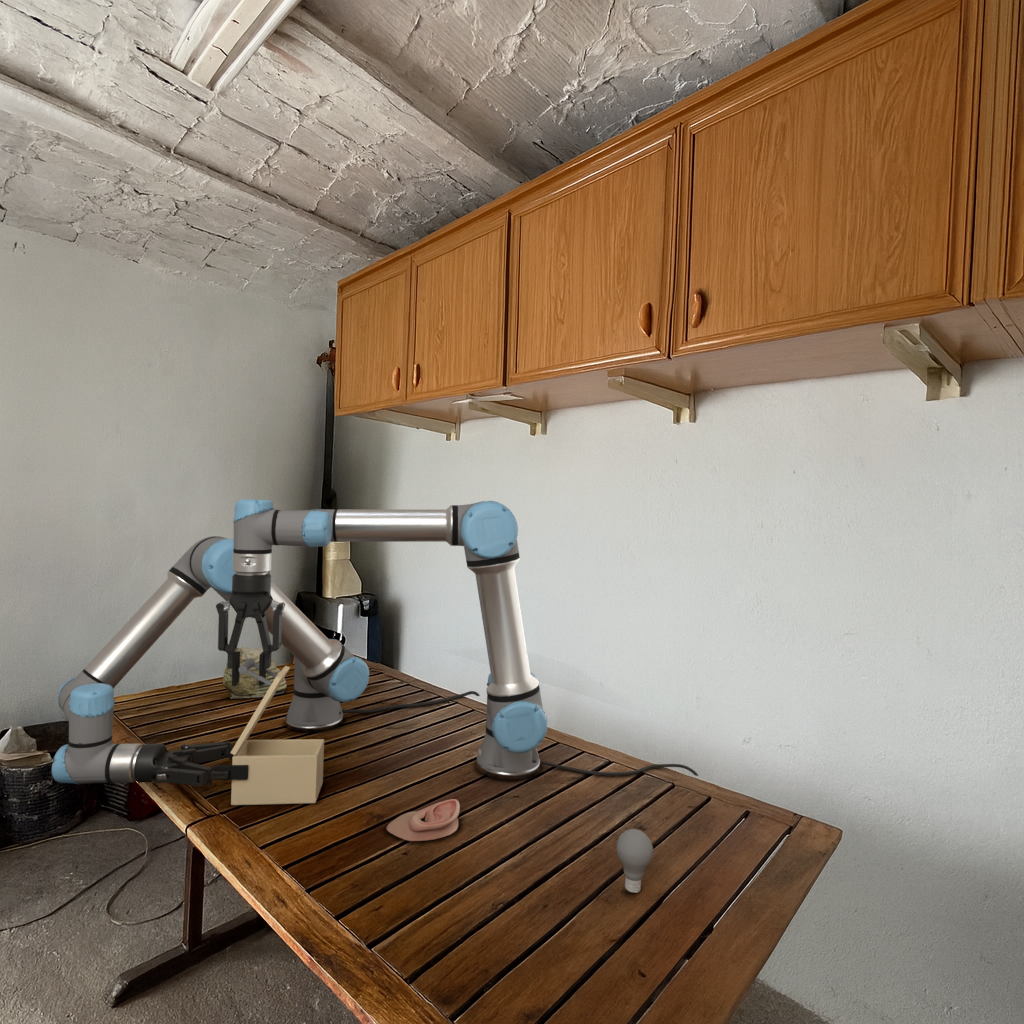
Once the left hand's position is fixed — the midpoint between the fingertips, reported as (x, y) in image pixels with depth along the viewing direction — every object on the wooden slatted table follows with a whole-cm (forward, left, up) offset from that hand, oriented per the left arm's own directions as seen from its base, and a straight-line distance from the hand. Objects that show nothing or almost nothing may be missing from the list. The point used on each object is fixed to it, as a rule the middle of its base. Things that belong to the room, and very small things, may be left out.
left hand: (254, 762), depth 133 cm
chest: (-4, +4, -7) cm, 9 cm away
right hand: (+1, -1, +17) cm, 17 cm away
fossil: (-34, -61, -7) cm, 70 cm away
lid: (-1, +1, +11) cm, 11 cm away
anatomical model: (-15, +36, -7) cm, 39 cm away
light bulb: (-25, +76, -7) cm, 80 cm away
